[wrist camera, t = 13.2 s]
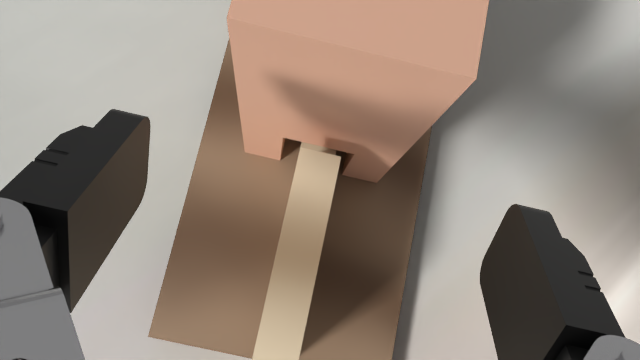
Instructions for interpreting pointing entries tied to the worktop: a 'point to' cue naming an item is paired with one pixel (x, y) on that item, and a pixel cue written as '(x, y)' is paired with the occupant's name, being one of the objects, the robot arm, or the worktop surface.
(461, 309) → the worktop surface
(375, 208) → the ridged rail
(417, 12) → the slotted upright
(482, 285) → the robot arm
